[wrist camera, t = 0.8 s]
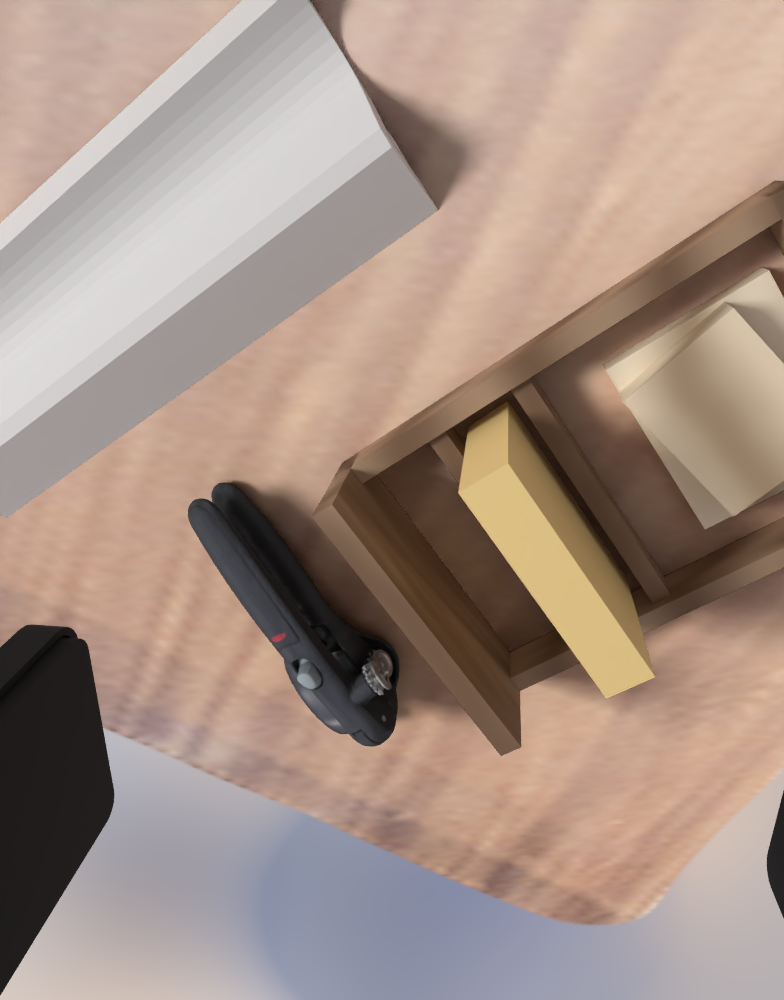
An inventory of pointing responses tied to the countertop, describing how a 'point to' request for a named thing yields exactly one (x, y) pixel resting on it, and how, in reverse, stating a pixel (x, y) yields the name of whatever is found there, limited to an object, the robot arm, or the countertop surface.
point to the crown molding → (188, 235)
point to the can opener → (300, 620)
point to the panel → (553, 549)
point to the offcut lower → (751, 297)
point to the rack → (426, 580)
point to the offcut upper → (718, 407)
